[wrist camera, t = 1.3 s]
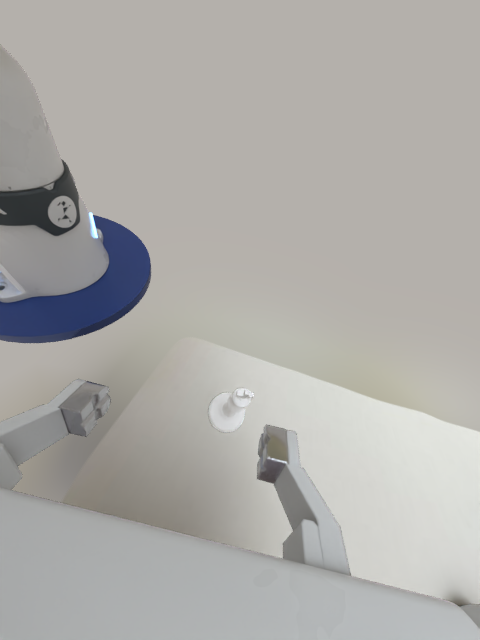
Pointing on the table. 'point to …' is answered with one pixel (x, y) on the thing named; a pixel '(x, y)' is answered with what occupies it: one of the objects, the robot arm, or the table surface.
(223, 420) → the chess piece
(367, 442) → the table surface
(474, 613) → the grey pawn figure
